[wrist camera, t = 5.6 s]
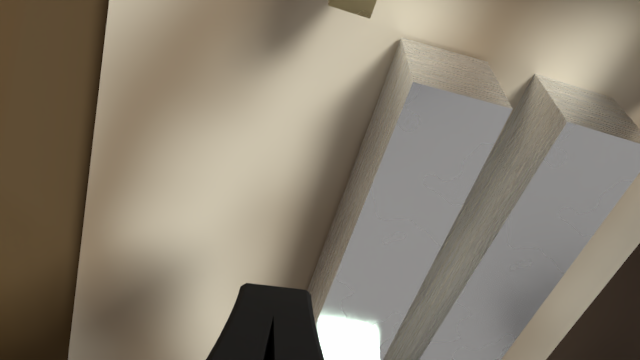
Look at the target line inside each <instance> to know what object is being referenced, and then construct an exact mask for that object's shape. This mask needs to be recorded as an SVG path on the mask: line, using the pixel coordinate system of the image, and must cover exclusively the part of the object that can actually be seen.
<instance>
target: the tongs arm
mask: <svg viewBox="0 0 640 360" xmlns="http://www.w3.org/2000/svg"><path fill="white" fill-rule="evenodd" d="M512 109H513V108H512V107H511V105H510V103H509V101H508V99H507V97H506V95H505V94H504V92H503V90H502V88H501V86H500V84H499V82H498V81H497V79H496V77H495V75H494V73H493V71H492V69H491V68H490V66H489V64H488V62H487V61H483V60H480V59H476V58H473V57H469V56H466V55H462V54H458V53H455V52H451V51H448V50H444V49H441V48H437V47H433V46H430V45H426V44H423V43H419V42H416V41H412V40H408V39H405V38H401V40H400V42H399V45H398V48H397V50H396V53H395V56H394V58H393V61H392V64H391V67H390V69H389V72H388V75H387V77H386V80H385V83H384V85H383V88H382V91H381V93H380V96H379V99H378V102H377V104H376V107H375V110H374V112H373V115H372V118H371V120H370V123H369V126H368V128H367V131H366V134H365V137H364V139H363V142H362V145H361V147H360V150H359V153H358V155H357V158H356V161H355V163H354V166H353V169H352V171H351V174H350V177H349V180H348V182H347V185H346V188H345V190H344V193H343V196H342V198H341V201H340V204H339V206H338V209H337V212H336V215H335V217H334V220H333V223H332V225H331V228H330V231H329V233H328V236H327V239H326V241H325V244H324V247H323V250H322V252H321V255H320V258H319V260H318V263H317V266H316V268H315V271H314V274H313V276H312V279H311V282H310V284H309V287H308V290H307V291H308V292H309V293H310V294H311V300H312V308H313V314H314V320H315V324H316V329H317V333H318V337H319V341H320V345H321V349H322V352H323V356H324V359H325V360H383V359H384V357H385V355H386V353H387V351H388V349H389V347H390V345H391V343H392V341H393V339H394V337H395V335H396V334H397V332H398V330H399V328H400V326H401V324H402V322H403V320H404V318H405V316H406V314H407V312H408V310H409V308H410V306H411V305H412V303H413V301H414V299H415V297H416V295H417V293H418V291H419V289H420V287H421V285H422V283H423V281H424V279H425V277H426V276H427V274H428V272H429V270H430V268H431V266H432V264H433V262H434V260H435V258H436V256H437V254H438V252H439V250H440V249H441V247H442V245H443V243H444V241H445V239H446V237H447V235H448V233H449V231H450V229H451V227H452V225H453V223H454V221H455V220H456V218H457V216H458V214H459V212H460V210H461V208H462V206H463V204H464V202H465V200H466V198H467V196H468V194H469V192H470V191H471V189H472V187H473V185H474V183H475V181H476V179H477V177H478V175H479V173H480V171H481V169H482V167H483V165H484V164H485V162H486V160H487V158H488V156H489V154H490V152H491V150H492V148H493V146H494V144H495V142H496V140H497V138H498V136H499V135H500V133H501V131H502V129H503V127H504V125H505V123H506V121H507V119H508V117H509V115H510V113H511V111H512Z"/></svg>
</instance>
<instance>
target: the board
mask: <svg viewBox="0 0 640 360" xmlns="http://www.w3.org/2000/svg"><path fill="white" fill-rule="evenodd" d="M401 38H405V39H408V40H412V41H416V42H419V43H423V44H426V45H430V46H433V47H437V48H441V49H444V50H448V51H451V52H455V53H458V54H462V55H466V56H469V57H473V58H476V59H480V60H483V61H487V62H488V64H489V66H490V68H491V69H492V71H493V73H494V75H495V77H496V79H497V81H498V82H499V84H500V86H501V88H502V90H503V92H504V94H505V95H506V97H507V99H508V101H509V103H510V105H511V107H512V108H513V109H512V111H511V113H510V115H509V117H508V119H507V121H506V123H505V125H504V127H503V129H502V131H503V130H504V128H505V126H506V124H507V123H508V121H509V119H510V117H511V115H512V114H513V112H514V110H515V108H516V106H517V105H518V103H519V101H520V99H521V97H522V96H523V94H524V92H525V90H526V88H527V87H528V85H529V83H530V81H531V80H532V78H533V76H534V74H538V75H541V76H544V77H547V78H550V79H554V80H557V81H560V82H563V83H566V84H569V85H573V86H576V87H579V88H582V89H585V90H588V91H592V92H595V93H598V94H601V95H604V96H607V97H611V98H613V99H614V100H615V101H616V102H617V103H618V104H619V106H620V107H621V108H622V109H623V110H624V111H625V113H626V114H627V115H628V116H629V117H630V118H631V119H632V121H633V122H634V123H635V124H636V125H637V126H638V128H639V129H640V0H377V1H376V4H375V7H374V9H373V12H372V15H371V18H370V19H369V18H366V17H363V16H360V15H356V14H353V13H350V12H347V11H344V10H341V9H337V8H334V7H331V6H328V0H109V7H108V15H107V24H106V33H105V41H104V50H103V59H102V67H101V76H100V85H99V93H98V102H97V111H96V119H95V128H94V137H93V145H92V154H91V163H90V171H89V180H88V189H87V197H86V206H85V215H84V223H83V232H82V241H81V249H80V258H79V267H78V275H77V284H76V293H75V301H74V310H73V319H72V328H71V336H70V345H69V354H68V360H206V359H207V357H208V355H209V353H210V352H211V350H212V348H213V346H214V345H215V343H216V341H217V339H218V338H219V336H220V334H221V332H222V330H223V328H224V326H225V324H226V322H227V320H228V318H229V316H230V314H231V311H232V309H233V307H234V304H235V302H236V299H237V296H238V293H239V290H240V286H242V285H244V284H246V283H252V284H260V285H269V286H278V287H286V288H295V289H303V290H308V287H309V284H310V282H311V279H312V276H313V274H314V271H315V268H316V266H317V263H318V260H319V258H320V255H321V252H322V250H323V247H324V244H325V241H326V239H327V236H328V233H329V231H330V228H331V225H332V223H333V220H334V217H335V215H336V212H337V209H338V206H339V204H340V201H341V198H342V196H343V193H344V190H345V188H346V185H347V182H348V180H349V177H350V174H351V171H352V169H353V166H354V163H355V161H356V158H357V155H358V153H359V150H360V147H361V145H362V142H363V139H364V137H365V134H366V131H367V128H368V126H369V123H370V120H371V118H372V115H373V112H374V110H375V107H376V104H377V102H378V99H379V96H380V93H381V91H382V88H383V85H384V83H385V80H386V77H387V75H388V72H389V69H390V67H391V64H392V61H393V58H394V56H395V53H396V50H397V48H398V45H399V42H400V40H401ZM502 131H501V133H502ZM501 133H500V135H501ZM500 135H499V136H498V138H497V140H498V139H499V137H500ZM497 140H496V142H497ZM496 142H495V144H496ZM495 144H494V146H495ZM494 146H493V148H494ZM493 148H492V149H493ZM491 151H492V150H491ZM490 153H491V152H490ZM489 155H490V154H489ZM488 157H489V156H488ZM639 243H640V173H639V174H638V175H637V177H636V178H635V180H634V181H633V182H632V184H631V185H630V186H629V188H628V189H627V190H626V192H625V193H624V194H623V196H622V197H621V198H620V200H619V201H618V202H617V204H616V205H615V207H614V208H613V209H612V211H611V212H610V213H609V215H608V216H607V217H606V219H605V220H604V221H603V223H602V224H601V225H600V227H599V228H598V229H597V231H596V232H595V234H594V235H593V236H592V238H591V239H590V240H589V242H588V243H587V244H586V246H585V247H584V248H583V250H582V251H581V252H580V254H579V255H578V257H577V258H576V259H575V261H574V262H573V263H572V265H571V266H570V267H569V269H568V270H567V271H566V273H565V274H564V275H563V277H562V278H561V279H560V281H559V282H558V284H557V285H556V286H555V288H554V289H553V290H552V292H551V293H550V294H549V296H548V297H547V298H546V300H545V301H544V302H543V304H542V305H541V306H540V308H539V309H538V311H537V312H536V313H535V315H534V316H533V317H532V319H531V320H530V321H529V323H528V324H527V325H526V327H525V328H524V329H523V331H522V332H521V334H520V335H519V336H518V338H517V339H516V340H515V342H514V343H513V344H512V346H511V347H510V348H509V350H508V351H507V352H506V354H505V355H504V356H503V358H502V359H501V360H546V359H547V358H548V356H549V355H550V354H551V353H552V351H553V350H554V349H555V348H556V346H557V345H558V344H559V343H560V341H561V340H562V339H563V338H564V336H565V335H566V334H567V333H568V331H569V330H570V329H571V328H572V327H573V325H574V324H575V323H576V322H577V320H578V319H579V318H580V317H581V315H582V314H583V313H584V312H585V310H586V309H587V308H588V307H589V305H590V304H591V303H592V302H593V300H594V299H595V298H596V297H597V295H598V294H599V293H600V292H601V290H602V289H603V288H604V287H605V285H606V284H607V283H608V282H609V281H610V279H611V278H612V277H613V276H614V274H615V273H616V272H617V271H618V269H619V268H620V267H621V266H622V264H623V263H624V262H625V261H626V259H627V258H628V257H629V256H630V254H631V253H632V252H633V251H634V249H635V248H636V247H637V246H638V244H639Z"/></svg>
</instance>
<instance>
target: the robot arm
mask: <svg viewBox="0 0 640 360" xmlns="http://www.w3.org/2000/svg"><path fill="white" fill-rule="evenodd" d="M206 360H325V359H324V356H323V352H322V349H321V345H320V341H319V337H318V333H317V329H316V324H315V320H314V314H313V308H312V300H311V294H310V293H309V292H308V291H307V290H303V289H295V288H286V287H278V286H269V285H260V284H252V283H246V284H244V285H242V286H240V290H239V293H238V296H237V299H236V302H235V304H234V307H233V309H232V311H231V314H230V316H229V318H228V320H227V322H226V324H225V326H224V328H223V330H222V332H221V334H220V336H219V338H218V339H217V341H216V343H215V345H214V346H213V348H212V350H211V352H210V353H209V355H208V357H207V359H206Z"/></svg>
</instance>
